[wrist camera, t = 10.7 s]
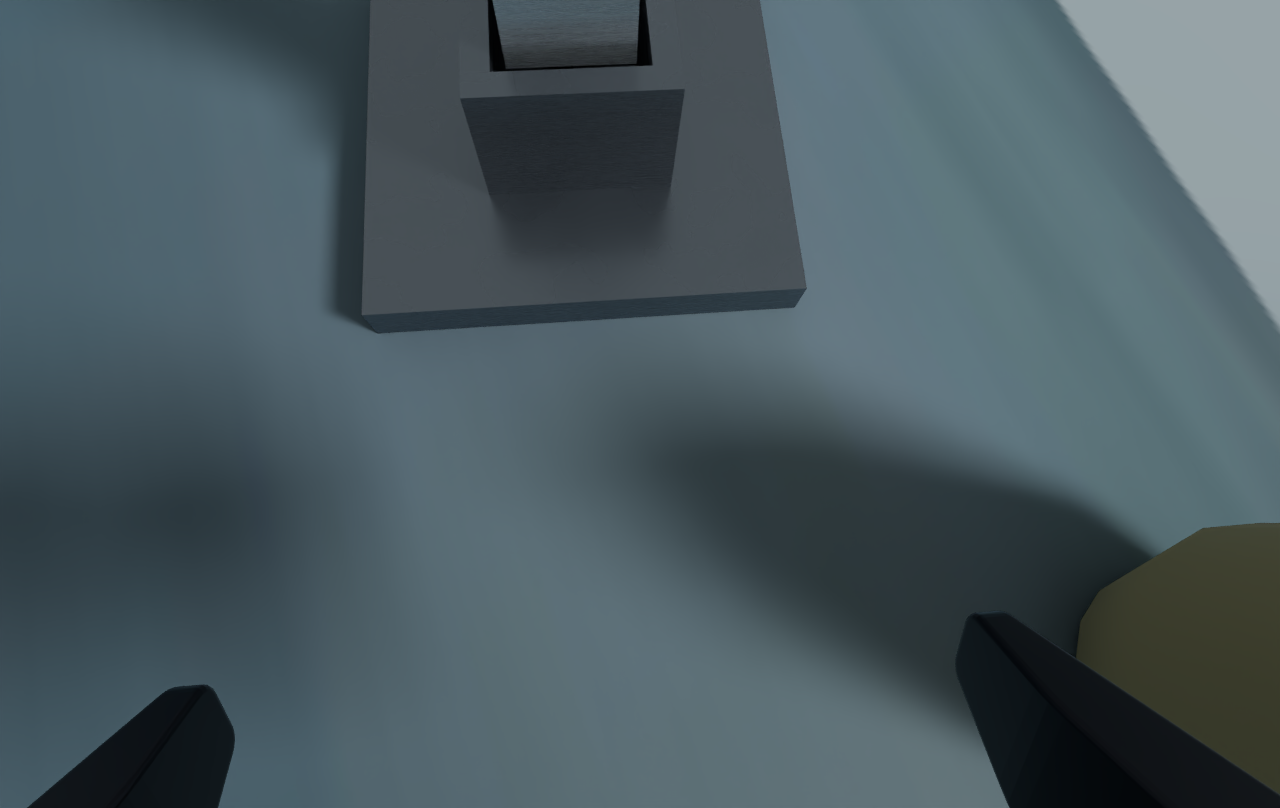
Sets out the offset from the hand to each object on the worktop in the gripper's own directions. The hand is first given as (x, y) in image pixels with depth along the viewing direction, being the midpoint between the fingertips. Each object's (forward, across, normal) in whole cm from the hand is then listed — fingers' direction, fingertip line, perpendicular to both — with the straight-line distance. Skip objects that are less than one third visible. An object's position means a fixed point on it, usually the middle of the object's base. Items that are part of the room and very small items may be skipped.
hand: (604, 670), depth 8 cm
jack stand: (+21, 0, -3) cm, 21 cm away
